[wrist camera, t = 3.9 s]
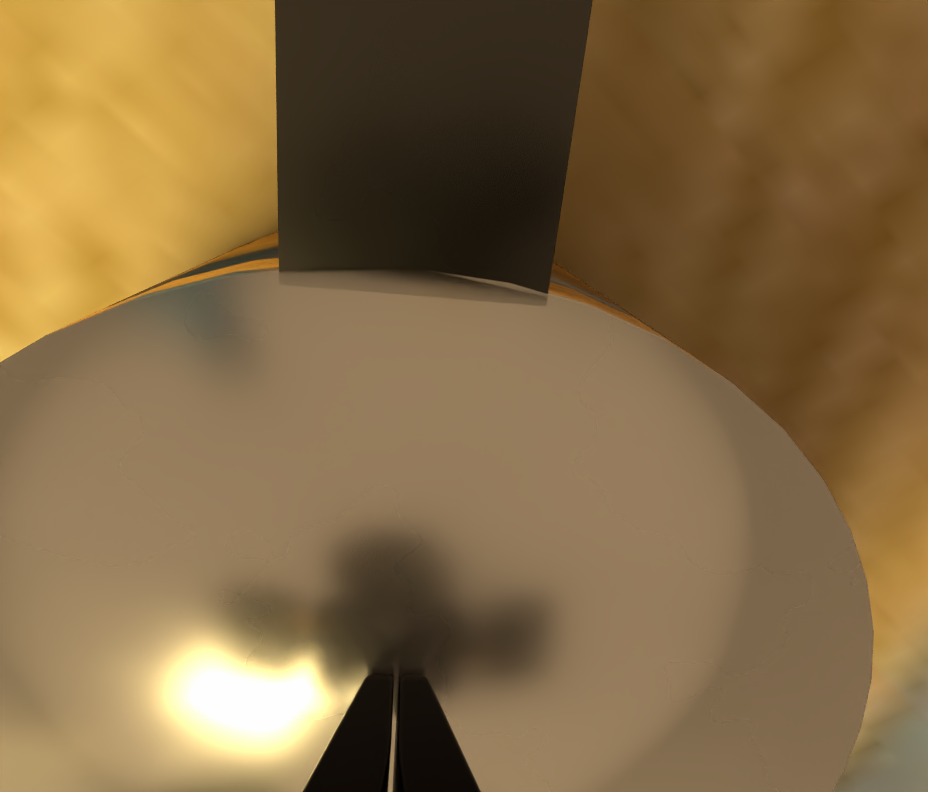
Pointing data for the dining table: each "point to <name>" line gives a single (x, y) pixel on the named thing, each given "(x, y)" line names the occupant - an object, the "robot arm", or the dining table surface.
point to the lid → (413, 474)
